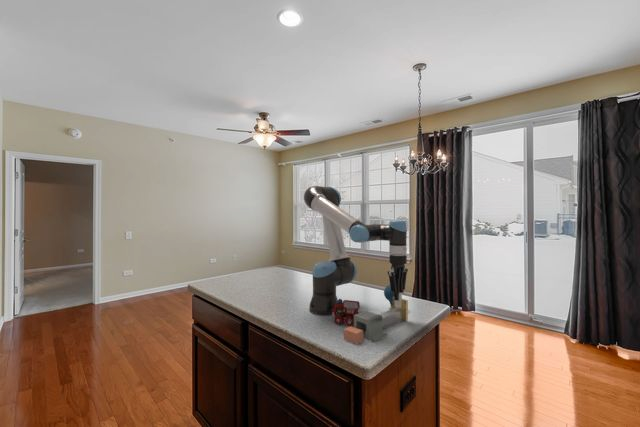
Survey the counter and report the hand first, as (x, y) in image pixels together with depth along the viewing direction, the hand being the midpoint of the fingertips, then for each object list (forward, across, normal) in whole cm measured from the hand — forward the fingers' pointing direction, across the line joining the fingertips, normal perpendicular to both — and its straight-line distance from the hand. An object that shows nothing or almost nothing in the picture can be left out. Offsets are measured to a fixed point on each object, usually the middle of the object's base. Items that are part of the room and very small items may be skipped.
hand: (398, 306), depth 128 cm
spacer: (+4, -28, 0) cm, 28 cm away
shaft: (+6, -10, 0) cm, 11 cm away
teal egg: (+6, +12, +11) cm, 17 cm away
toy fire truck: (+6, -20, +14) cm, 25 cm away
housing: (+6, -21, 0) cm, 22 cm away
